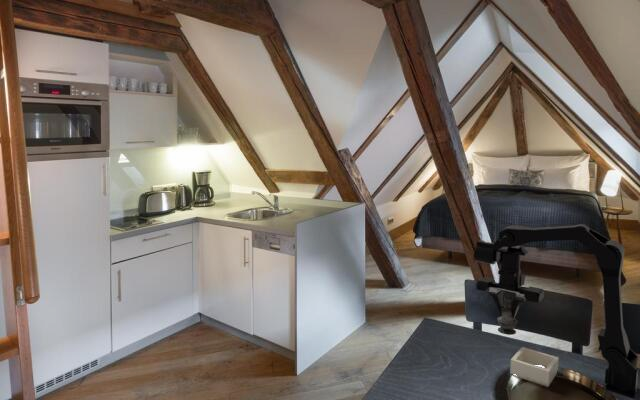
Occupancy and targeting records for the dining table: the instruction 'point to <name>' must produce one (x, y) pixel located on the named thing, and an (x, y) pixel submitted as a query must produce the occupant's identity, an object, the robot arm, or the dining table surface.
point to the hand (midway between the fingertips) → (507, 315)
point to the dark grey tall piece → (507, 317)
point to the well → (526, 367)
